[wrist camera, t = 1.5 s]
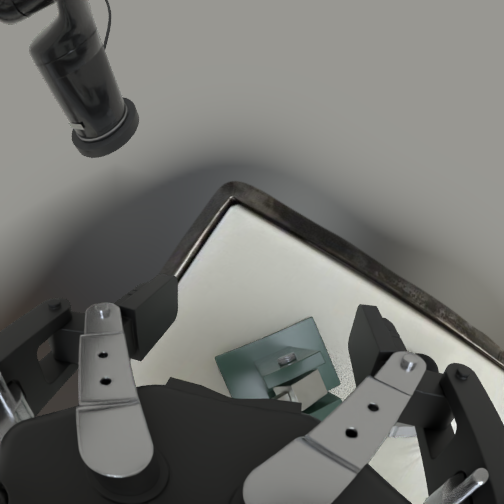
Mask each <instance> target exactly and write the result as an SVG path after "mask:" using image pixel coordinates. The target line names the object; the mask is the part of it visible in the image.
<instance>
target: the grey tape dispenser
mask: <svg viewBox="0 0 504 504" xmlns="http://www.w3.org/2000/svg"><path fill="white" fill-rule="evenodd" d="M416 435H417V434H416V430H415V426H412V425H407V424H403V423H399V422H397V423H396V424H395V426H394V427H393V429H392V430H391V432H390V433H389V435H388V437H394V438H396V437H412V436H416Z"/></svg>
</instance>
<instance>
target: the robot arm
mask: <svg viewBox="0 0 504 504" xmlns="http://www.w3.org/2000/svg"><path fill="white" fill-rule="evenodd" d="M105 1H106V3H107V7H108V12H109V22H108V29H107V33H106V37H105V41H104V45H103V44H102V42H101V39H100V36H99V33H98V30H97V27H96V24H95V21H94V18H93V14H92V11H91V7H90V3H89V0H0V22H2V23H4V24H8V25H13V24H17V23H19V22H21V21H23V20H25V19H27V18H29V17H31V16H32V15H34V14H36V13H38V12H39V11H41V10H43V9H45V8H47V7H48V6H50V5H52V4H54V3H57V8H58V14H57V15H56V17H55V18H54V19H53V20H52V21H51V22H50V23H49V24H48V25H47V26H46V27H45V28H44V29H43V30H42V31H41V32H40V33H39V34H38V35H37V36H36V37H35V38H34V40H33V41H32V43H31V44H30V47H29V54H30V56H31V57H32V60H33V62H34V63H35V65H36V67H37V69H38V70H39V72H40V74H41V76H42V77H43V79H44V81H45V83H46V84H47V86H48V88H49V89H50V91H51V93H52V94H53V96H54V98H55V99H56V101H57V102H58V104H59V106H60V108H61V109H62V111H63V112H64V114H65V116H66V117H67V119H68V120H69V122H70V123H69V124H70V126H71V127H72V128H74V130H75V131H76V134H77V136H78V137H79V139H80V140H81V141H83V142H85V143H96V142H100V141H102V140H105V139H107V138H108V137H110V136H112V135H113V134H114V133H116V132H117V131H118V130H119V129H120V128H121V127H122V126H123V124H124V123H125V121H126V119H127V116H128V108H127V106H126V103H125V102H124V100H123V97H122V95H121V92H120V90H119V87H118V85H117V82H116V80H115V77H114V74H113V71H112V69H111V66H110V64H109V61H108V58H107V55H106V53H105V48H106V44H107V40H108V36H109V31H110V26H111V10H110V6H109V3H108V1H107V0H105ZM177 312H178V281H177V278H176V277H175V276H170V275H165V274H159V275H157V276H156V277H155V278H154V279H152V280H151V281H150V282H146V283H143V284H140V285H138V286H137V287H136V288H134V289H133V290H132V291H130V292H129V293H128V294H127V295H125V296H123V297H122V298H121V299H119V300H118V301H117V302H116V303H114V304H112V303H97V304H94V305H92V306H90V307H88V308H87V310H86V312H85V313H80V312H72V311H71V306H70V302H69V301H68V300H67V299H63V298H53V299H49V300H46V301H45V302H43V303H41V304H40V305H38V306H37V307H35V308H34V309H32V310H31V311H29V312H28V313H26V314H25V315H23V316H22V317H21V318H19V319H18V320H16V321H15V322H13V323H12V324H10V325H9V326H8V327H6V328H5V329H3V330H2V331H1V332H0V504H412V503H411V502H409V501H408V500H407V499H406V498H405V497H404V496H403V495H401V494H400V493H399V492H398V491H397V490H396V489H395V488H394V487H392V486H391V485H390V484H389V483H388V482H387V481H386V480H385V479H384V478H383V477H381V476H380V475H379V474H378V473H377V472H376V471H375V470H374V469H373V468H372V467H371V466H370V465H369V464H368V463H369V461H370V460H371V459H372V457H373V456H374V455H375V453H376V452H377V451H378V449H379V448H380V446H381V445H382V444H383V442H384V441H385V439H386V438H387V436H388V435H389V433H390V432H391V430H392V429H393V427H394V426H395V424H396V423H397V422H399V423H403V424H407V425H412V426H415V430H416V434H417V438H418V443H419V447H420V452H421V456H422V461H423V466H424V471H425V476H426V482H427V488H428V494H429V497H428V498H427V499H426V500H425V502H424V503H423V504H504V425H503V423H502V421H501V419H500V417H499V415H498V413H497V411H496V409H495V407H494V405H493V403H492V402H491V400H490V398H489V396H488V394H487V393H486V391H485V389H484V387H483V386H482V384H481V382H480V380H479V379H478V377H477V375H476V374H475V372H474V371H473V370H472V369H470V368H469V367H467V366H465V365H463V364H459V363H453V364H449V365H448V366H447V368H446V370H445V372H444V374H442V373H437V372H433V371H429V370H426V363H425V361H424V360H423V359H422V358H421V357H420V356H418V355H416V354H414V353H411V352H407V350H406V348H405V346H404V344H403V342H402V340H401V338H400V336H399V334H398V332H397V330H396V329H395V327H394V325H393V324H392V323H391V322H390V321H389V320H387V319H386V318H382V316H381V314H380V312H379V310H378V308H377V307H376V306H370V305H361V304H360V305H359V306H358V308H357V312H356V315H355V319H354V323H353V326H352V330H351V333H350V337H349V342H348V350H349V354H350V359H351V364H352V368H353V373H354V378H355V383H356V389H355V390H354V391H353V392H352V393H351V394H350V395H349V396H348V397H347V398H346V399H345V400H344V401H343V402H342V403H341V404H340V405H339V406H338V407H337V408H336V409H335V410H334V411H332V412H331V413H330V414H329V415H328V416H327V417H326V418H325V419H324V420H323V421H321V420H319V419H317V418H315V417H313V416H311V415H308V414H306V413H302V412H301V410H302V403H300V402H291V401H283V400H276V399H269V398H264V399H235V398H230V397H227V396H225V395H222V394H220V393H218V392H215V391H213V390H211V389H208V388H206V387H204V386H202V385H198V384H194V383H190V382H187V381H183V380H179V379H175V378H172V377H170V379H169V380H168V382H167V383H166V385H146V386H140V387H136V385H135V381H134V377H133V373H132V368H131V364H130V358H132V359H135V360H138V361H142V360H143V359H144V357H145V356H146V355H147V354H148V352H149V351H150V350H151V349H152V348H153V346H154V345H155V344H156V343H157V341H158V340H159V339H160V338H161V337H162V335H163V334H164V333H165V332H166V331H167V329H168V328H169V327H170V326H171V324H172V323H173V322H174V321H175V319H176V316H177ZM47 339H48V341H49V344H50V348H51V352H50V353H48V354H47V355H46V356H45V357H44V358H43V359H42V360H41V361H40V362H39V361H38V359H37V350H38V347H39V346H40V345H41V344H42V343H43V342H45V341H46V340H47ZM78 368H79V369H78ZM77 369H78V370H79V372H78V376H79V377H78V383H79V384H78V385H79V405H78V406H75V407H72V408H68V409H65V410H61V411H57V412H53V413H50V414H46V415H42V416H38V417H35V416H36V415H37V414H38V413H39V412H40V410H41V409H42V408H43V407H44V406H45V405H46V404H47V403H48V401H49V400H50V399H51V398H52V397H53V396H54V395H55V394H56V392H57V391H58V390H59V389H60V388H61V387H62V386H63V384H64V383H65V382H66V381H67V380H68V379H69V378H70V377H71V376H72V374H74V373H75V371H76V370H77ZM454 418H455V421H456V424H457V430H456V433H455V434H454V431H453V429H452V426H451V422H452V420H453V419H454Z"/></svg>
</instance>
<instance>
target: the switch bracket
mask: <svg viewBox="0 0 504 504" xmlns="http://www.w3.org/2000/svg"><path fill="white" fill-rule="evenodd" d="M215 360H216V362H217V365H218V367H219V369H220V372H221V374H222V376H223V379H224V381H225V383H226V385H227V388H228V390H229V392H230V394H231V396H232V398H235V399H264V398H269V399H271V398H273V397H274V396H276V394H275V391H274V389H273V387H275V386H278V385H280V384H282V383H284V382H287V381H289V380H291V379H293V378H296V377H298V376H300V375H302V374H304V373H306V372H308V371H311V370H314V369H318V371H319V373H320V375H321V378H322V380H323V382H324V385H325V387H326V390H327V392H328V391H329V390H330V389H332V388H334V387H336V386H338V385H340V384H341V383H340V381H339V378H338V376H337V373H336V371H335V369H334V366H333V364H332V361H331V359H330V357H329V354H328V352H327V350H326V347H325V345H324V343H323V340H322V338H321V336H320V333H319V331H318V329H317V326H316V324H315V322H314V319H313V317H309V318H307V319H305V320H303V321H301V322H298V323H296V324H294V325H292V326H289V327H287V328H285V329H283V330H280V331H278V332H276V333H273V334H271V335H269V336H266V337H264V338H262V339H259V340H257V341H254V342H252V343H249V344H247V345H244V346H242V347H239V348H237V349H234V350H232V351H229V352H227V353H224V354H221V355H219V356H216V357H215ZM341 403H342V400H341V398H339V397H337V396H335V395H333V394H331V393H330V392H328V393H327V394H326V395H325V396H323V397H322V398H321V399H319V400H318V401H316V402H315V403H314V404H312V405H311V406H309V407H308V408H307V409H305V410H304V411H301V412H302V413H306V414H308V415H311V416H313V417H315V418H317V419H319V420H321V421H323V420H324V419H325V418H326V417H327V416H328V415H329V414H330V413H331V412H332V411H334V410H335V409H336V408H337V407H338V406H339V405H340V404H341Z"/></svg>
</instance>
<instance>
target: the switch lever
mask: <svg viewBox="0 0 504 504" xmlns="http://www.w3.org/2000/svg"><path fill="white" fill-rule="evenodd" d="M273 389H274V391H275V394H276V396H274V397H273V398H271V399H276V400H283V401H291V402H300V403H302V410H301V411H304V410H305V409H307V408H308V407H309V406H311V405H312V404H314V403H315V402H316V401H318V400H319V399H321V398H322V397H323V396H325V395H326V394H327V393H328V392H327V390H326V387H325V385H324V382H323V380H322V378H321V375H320V373H319V371H318V369H314V370H311V371H308V372H306V373H304V374H302V375H300V376H298V377H296V378H293V379H291V380H289V381H287V382H284V383H282V384H280V385H278V386H275V387H273Z"/></svg>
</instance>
